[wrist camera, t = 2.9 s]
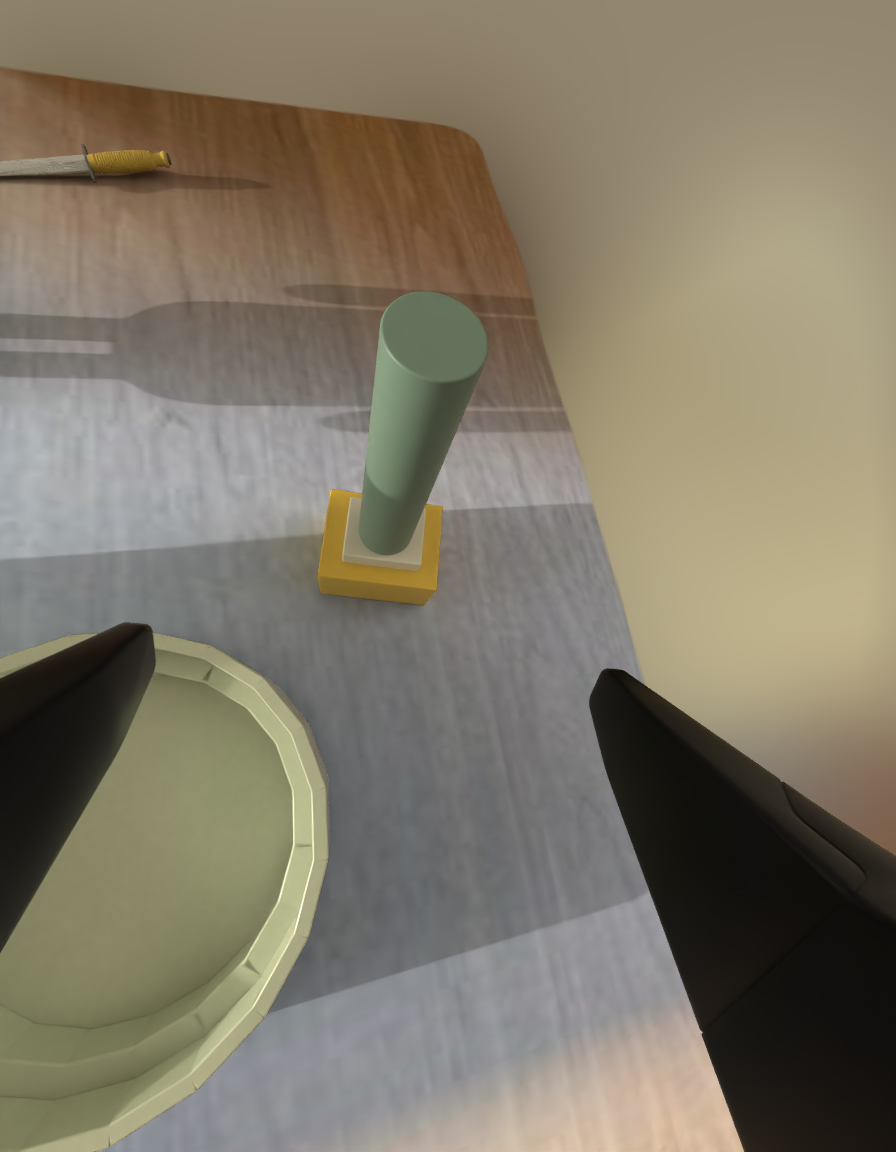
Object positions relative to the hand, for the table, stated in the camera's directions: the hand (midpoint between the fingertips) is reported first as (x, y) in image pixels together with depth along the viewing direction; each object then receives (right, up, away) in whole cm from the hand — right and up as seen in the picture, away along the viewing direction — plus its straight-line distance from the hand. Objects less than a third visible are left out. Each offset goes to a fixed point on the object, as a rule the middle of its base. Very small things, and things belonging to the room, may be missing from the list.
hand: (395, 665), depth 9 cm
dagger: (-19, +23, +16) cm, 34 cm away
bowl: (-11, -8, +8) cm, 16 cm away
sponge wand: (-2, +3, +13) cm, 14 cm away
